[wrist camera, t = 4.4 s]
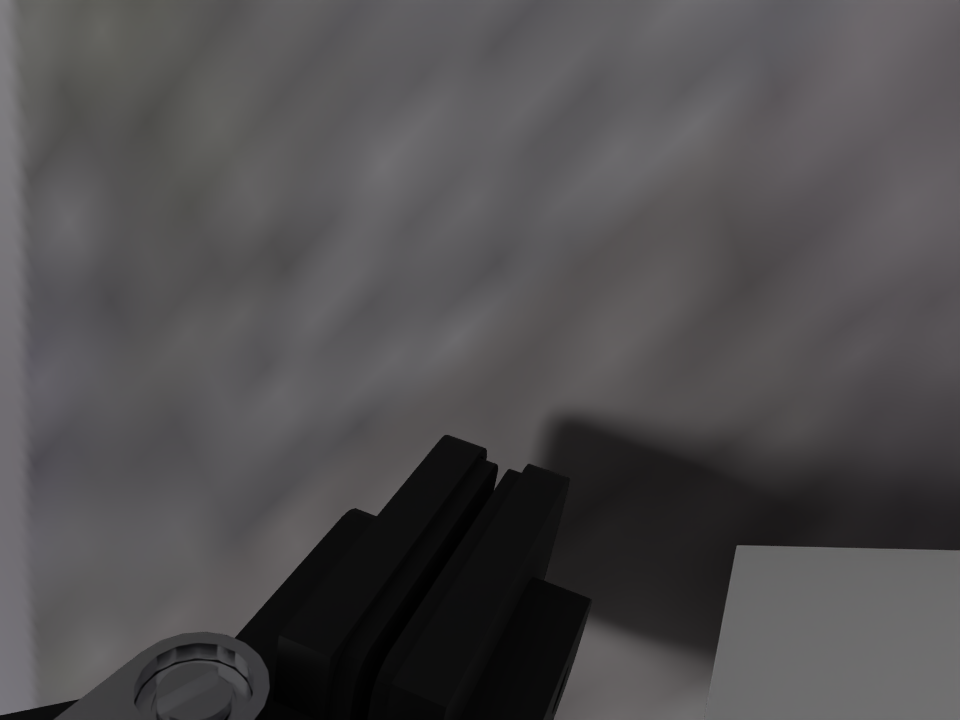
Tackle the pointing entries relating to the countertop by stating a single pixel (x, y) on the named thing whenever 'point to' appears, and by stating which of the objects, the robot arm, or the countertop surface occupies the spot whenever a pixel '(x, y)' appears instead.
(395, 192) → the countertop surface
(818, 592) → the white angled block
